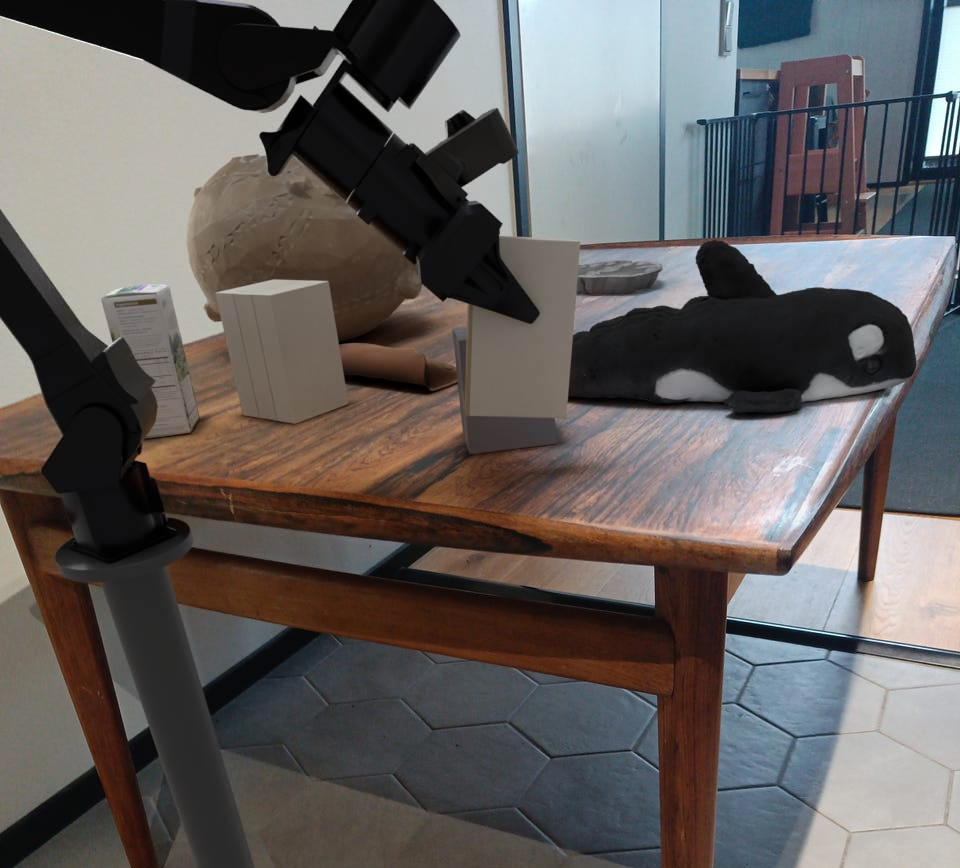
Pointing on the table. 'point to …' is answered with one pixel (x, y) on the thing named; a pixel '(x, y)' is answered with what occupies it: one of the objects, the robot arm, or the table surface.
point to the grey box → (497, 418)
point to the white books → (283, 349)
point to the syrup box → (155, 351)
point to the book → (525, 336)
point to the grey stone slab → (616, 277)
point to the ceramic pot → (294, 243)
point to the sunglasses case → (396, 365)
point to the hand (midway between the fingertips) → (532, 314)
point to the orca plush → (746, 344)
